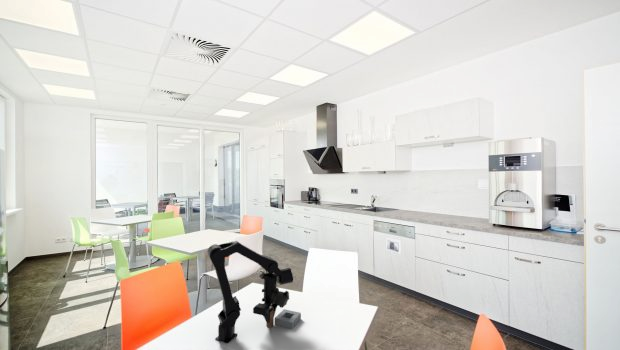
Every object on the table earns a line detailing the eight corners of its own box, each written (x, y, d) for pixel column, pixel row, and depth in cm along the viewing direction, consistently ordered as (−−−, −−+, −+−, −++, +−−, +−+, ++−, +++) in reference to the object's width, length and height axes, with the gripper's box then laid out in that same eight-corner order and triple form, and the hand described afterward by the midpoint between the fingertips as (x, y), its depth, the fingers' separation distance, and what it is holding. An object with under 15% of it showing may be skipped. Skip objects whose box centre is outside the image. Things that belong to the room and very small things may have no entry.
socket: (292, 329, 121) (292, 322, 121) (274, 324, 124) (274, 318, 124) (300, 319, 129) (300, 312, 129) (284, 315, 133) (284, 309, 133)
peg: (271, 328, 122) (271, 310, 122) (265, 326, 123) (265, 308, 123) (274, 324, 124) (274, 307, 125) (268, 323, 126) (268, 305, 126)
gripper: (275, 298, 112) (275, 336, 112) (295, 282, 129) (295, 315, 129) (252, 293, 116) (252, 330, 116) (274, 278, 133) (274, 310, 133)
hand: (270, 321), depth 124 cm, fingers closed on peg, 3 cm apart
